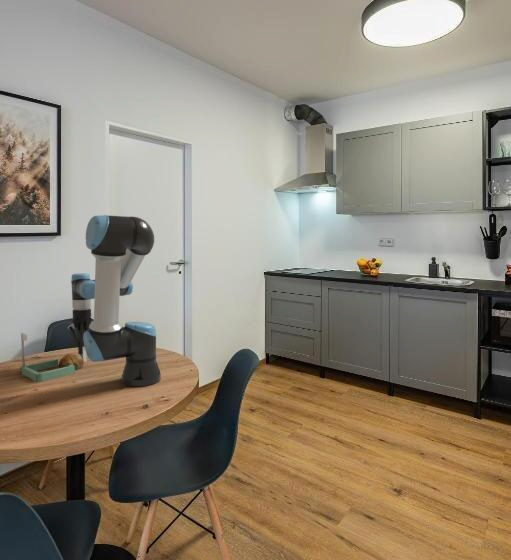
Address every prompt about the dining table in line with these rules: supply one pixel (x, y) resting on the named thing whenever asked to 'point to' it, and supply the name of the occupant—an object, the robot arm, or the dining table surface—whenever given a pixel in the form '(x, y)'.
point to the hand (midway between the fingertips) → (83, 361)
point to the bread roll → (71, 361)
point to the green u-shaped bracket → (43, 367)
